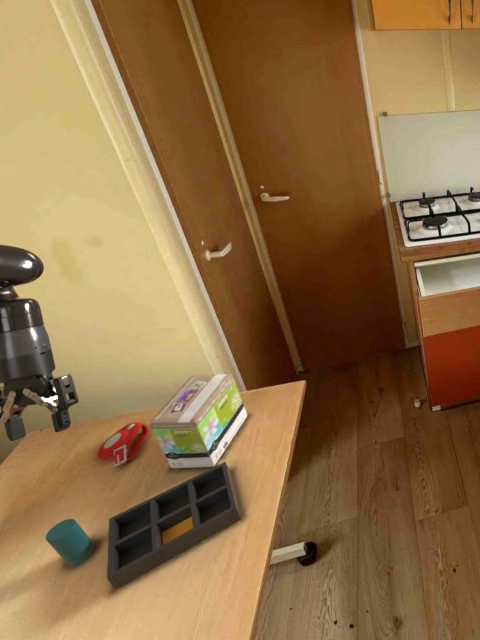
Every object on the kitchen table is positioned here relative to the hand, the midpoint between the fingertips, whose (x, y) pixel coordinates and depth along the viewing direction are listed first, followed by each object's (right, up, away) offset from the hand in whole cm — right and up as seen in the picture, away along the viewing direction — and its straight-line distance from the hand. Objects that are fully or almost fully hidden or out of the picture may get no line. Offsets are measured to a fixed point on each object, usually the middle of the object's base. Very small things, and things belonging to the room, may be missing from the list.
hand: (40, 434), depth 81 cm
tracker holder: (-1, -12, +18) cm, 22 cm away
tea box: (+18, -11, +21) cm, 30 cm away
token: (+9, -22, -1) cm, 24 cm away
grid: (+24, -20, +3) cm, 31 cm away
